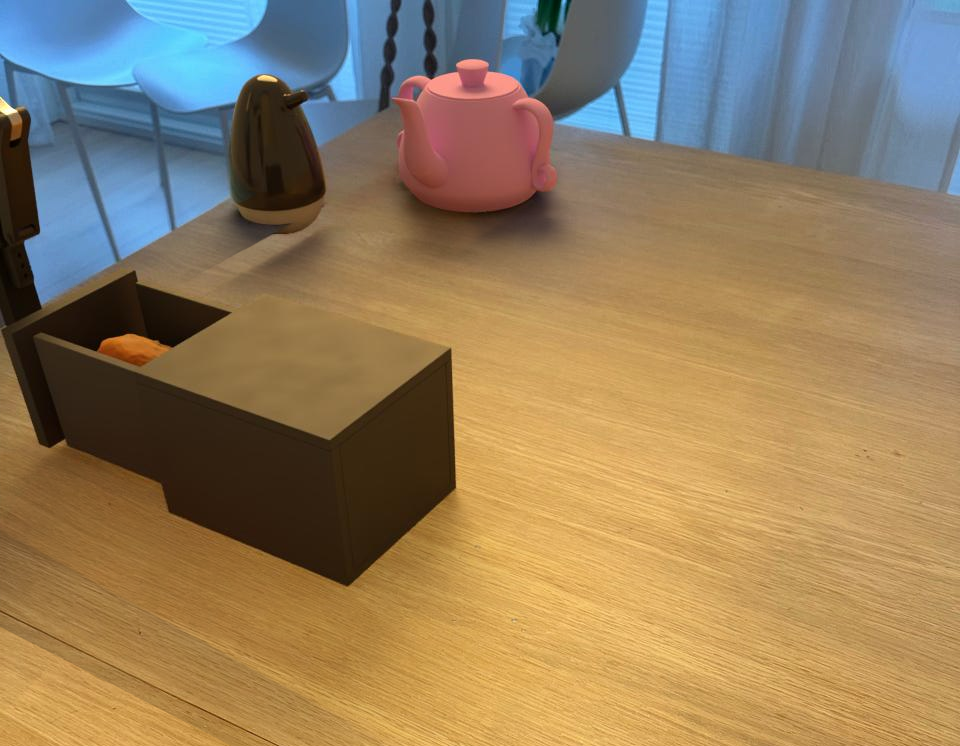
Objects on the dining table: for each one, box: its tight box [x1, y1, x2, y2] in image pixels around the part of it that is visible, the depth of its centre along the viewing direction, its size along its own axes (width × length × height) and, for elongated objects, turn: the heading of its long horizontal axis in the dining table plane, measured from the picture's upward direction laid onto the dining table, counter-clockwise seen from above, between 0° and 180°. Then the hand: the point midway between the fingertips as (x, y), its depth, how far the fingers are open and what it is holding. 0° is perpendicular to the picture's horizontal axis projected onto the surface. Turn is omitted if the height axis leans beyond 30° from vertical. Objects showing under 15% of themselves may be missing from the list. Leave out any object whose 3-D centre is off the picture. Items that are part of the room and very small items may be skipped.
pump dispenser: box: [228, 73, 327, 235], centre depth 114 cm, size 10×10×15 cm
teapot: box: [390, 58, 558, 213], centre depth 119 cm, size 22×22×14 cm
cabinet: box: [133, 293, 457, 587], centre depth 77 cm, size 17×14×12 cm
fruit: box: [97, 334, 172, 367], centre depth 83 cm, size 8×8×8 cm
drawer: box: [0, 266, 239, 484], centre depth 84 cm, size 20×12×10 cm, turn 58°
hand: (25, 320), depth 88 cm, fingers closed
